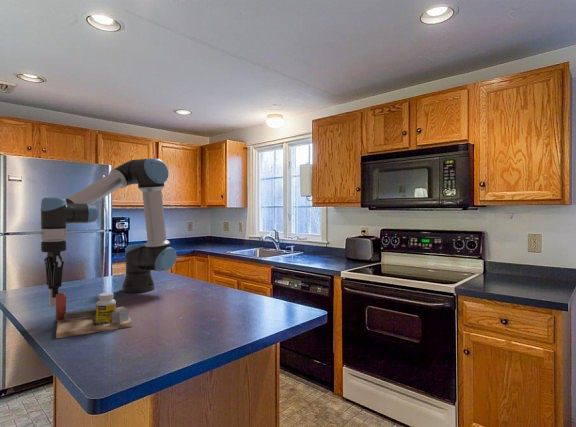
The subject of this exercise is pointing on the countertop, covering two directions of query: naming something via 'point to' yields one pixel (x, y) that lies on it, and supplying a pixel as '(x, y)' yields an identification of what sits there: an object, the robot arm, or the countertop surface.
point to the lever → (64, 315)
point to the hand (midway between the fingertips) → (54, 305)
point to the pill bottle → (105, 308)
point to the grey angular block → (120, 316)
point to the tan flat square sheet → (85, 326)
